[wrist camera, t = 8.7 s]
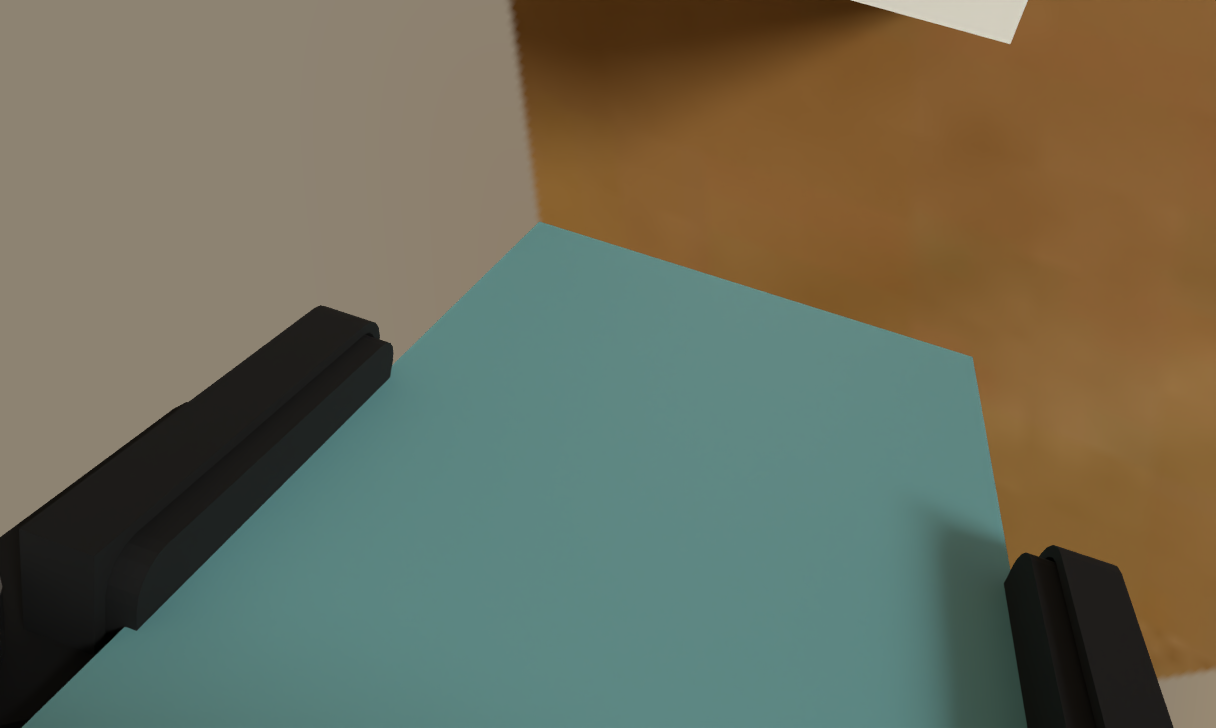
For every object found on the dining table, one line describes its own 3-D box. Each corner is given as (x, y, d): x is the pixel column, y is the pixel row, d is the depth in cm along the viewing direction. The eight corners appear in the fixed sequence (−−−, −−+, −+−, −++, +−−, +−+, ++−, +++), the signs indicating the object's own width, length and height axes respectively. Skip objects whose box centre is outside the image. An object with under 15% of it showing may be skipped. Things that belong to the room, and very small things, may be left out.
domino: (539, 221, 14) (-214, 956, 4) (972, 357, 14) (1182, 1559, 4) (512, 348, 15) (-162, 1185, 5) (916, 481, 14) (974, 1708, 5)
